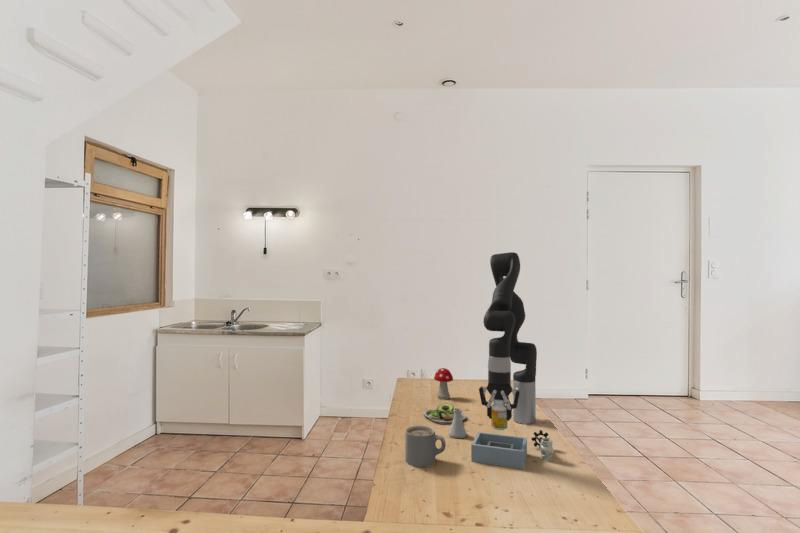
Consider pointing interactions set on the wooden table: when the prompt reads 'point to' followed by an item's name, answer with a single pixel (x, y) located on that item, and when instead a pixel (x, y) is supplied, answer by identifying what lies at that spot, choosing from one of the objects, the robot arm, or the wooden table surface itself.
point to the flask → (457, 426)
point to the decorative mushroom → (443, 382)
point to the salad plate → (442, 414)
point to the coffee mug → (422, 446)
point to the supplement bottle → (499, 415)
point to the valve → (544, 445)
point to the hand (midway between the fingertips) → (499, 418)
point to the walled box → (499, 450)
